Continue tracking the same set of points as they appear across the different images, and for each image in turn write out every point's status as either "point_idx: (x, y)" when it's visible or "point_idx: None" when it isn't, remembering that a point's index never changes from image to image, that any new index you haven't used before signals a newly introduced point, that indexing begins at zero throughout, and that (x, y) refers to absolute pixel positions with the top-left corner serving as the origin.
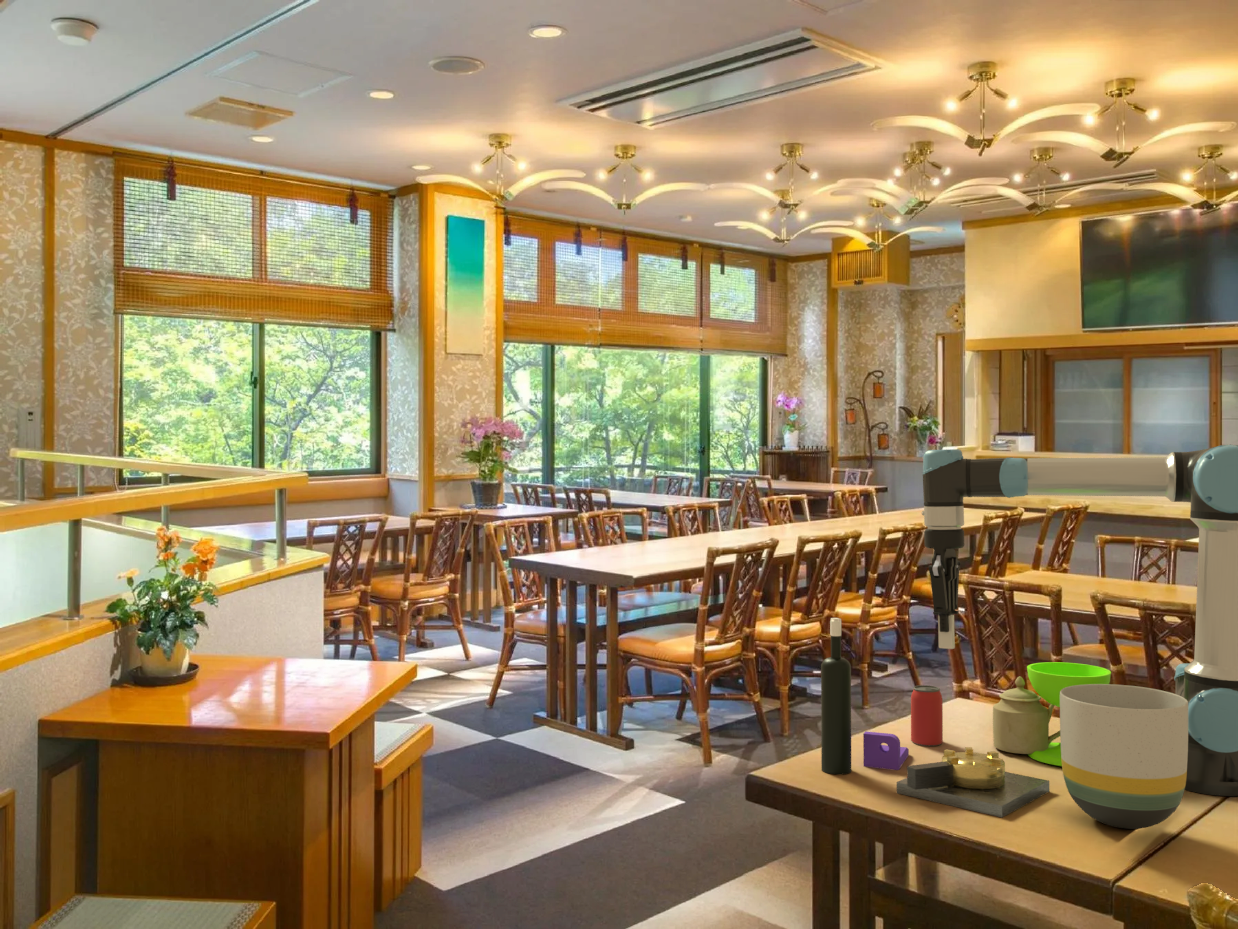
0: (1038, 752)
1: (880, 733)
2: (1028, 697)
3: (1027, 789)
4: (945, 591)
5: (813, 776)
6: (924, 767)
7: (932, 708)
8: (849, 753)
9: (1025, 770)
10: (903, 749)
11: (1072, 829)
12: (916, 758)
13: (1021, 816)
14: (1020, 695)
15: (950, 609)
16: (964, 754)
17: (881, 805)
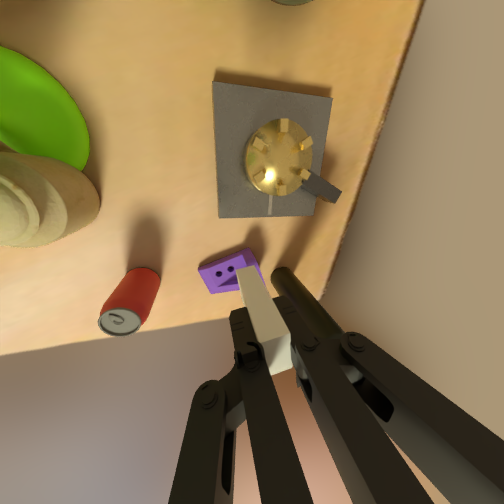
0: (71, 158)
1: None
2: None
3: (265, 94)
4: (501, 466)
5: (303, 277)
6: (332, 188)
7: (140, 293)
8: (288, 274)
9: (148, 149)
10: (216, 266)
11: (325, 10)
12: (202, 257)
13: (312, 84)
14: (4, 197)
15: (309, 358)
16: (264, 179)
17: (340, 205)
